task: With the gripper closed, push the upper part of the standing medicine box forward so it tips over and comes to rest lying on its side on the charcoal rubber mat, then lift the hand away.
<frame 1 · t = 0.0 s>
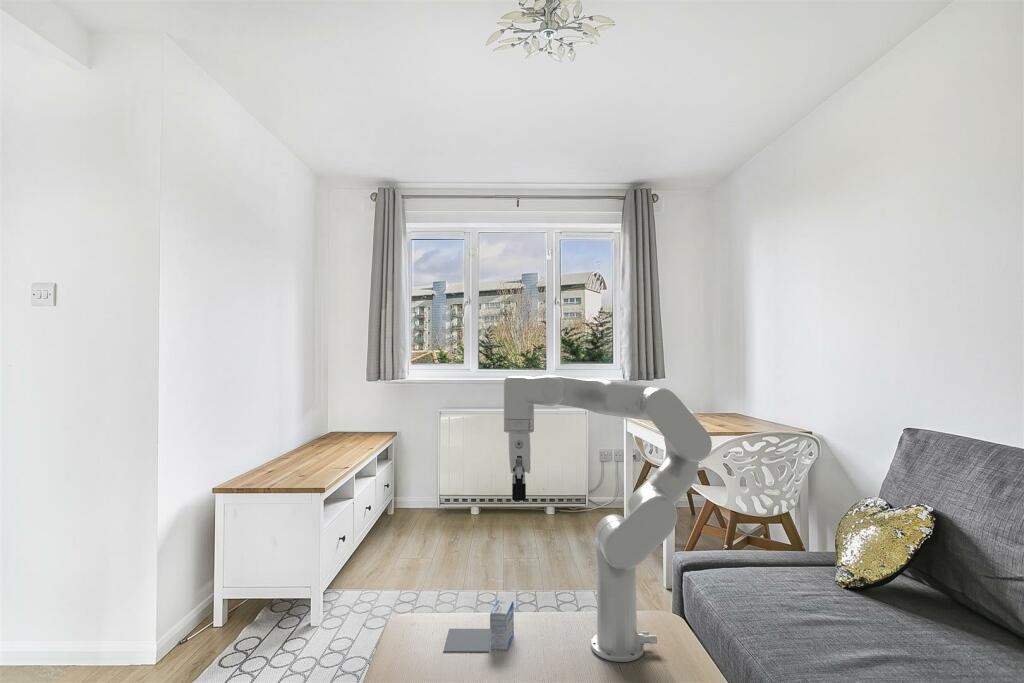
hand: (518, 495, 131), 37 cm above the table, tool pointing down, fingers open, 9 cm apart
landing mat: (468, 640, 133), on the table
medicine box: (502, 642, 132), on the table
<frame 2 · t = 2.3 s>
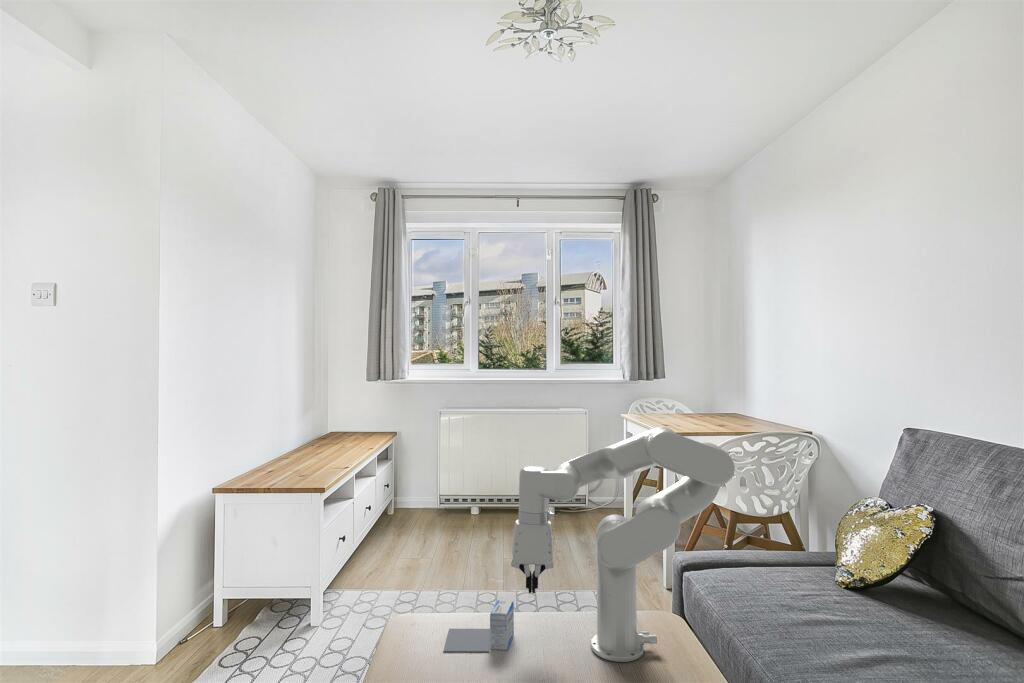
hand: (531, 591, 133), 12 cm above the table, tool pointing down, fingers closed
nothing on the table moved.
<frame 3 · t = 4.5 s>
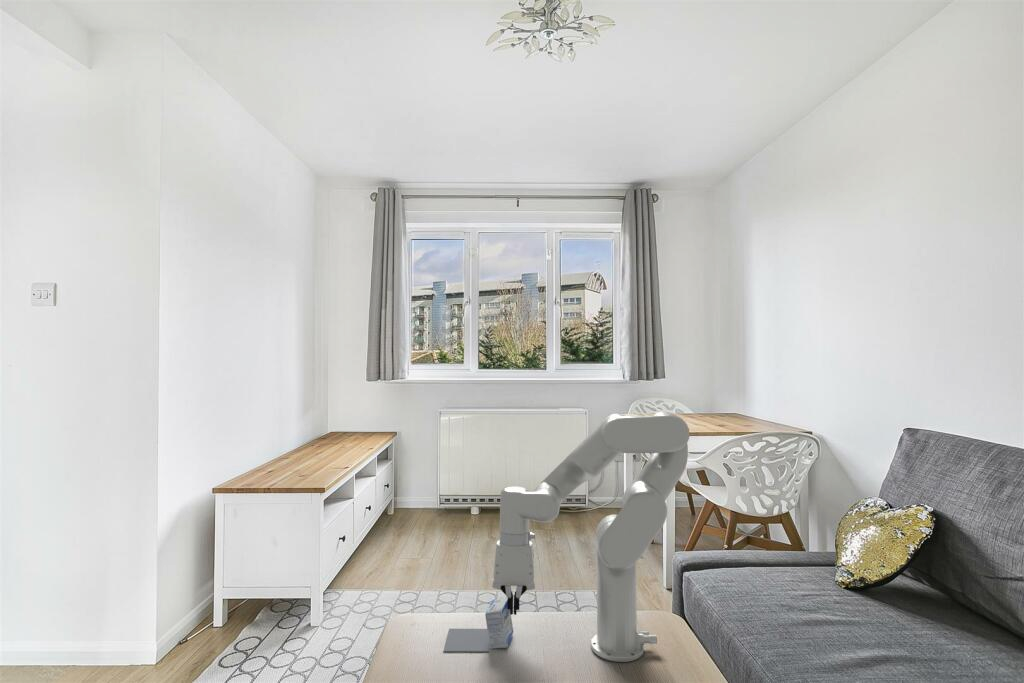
hand: (513, 612, 133), 7 cm above the table, tool pointing down, fingers closed
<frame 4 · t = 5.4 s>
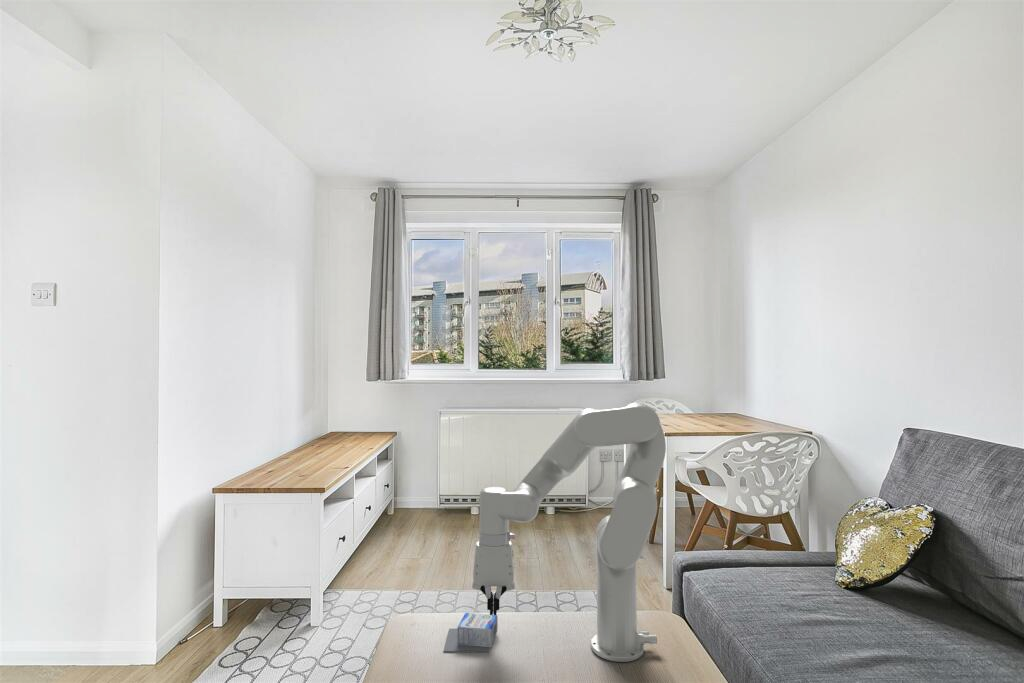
hand: (493, 612, 133), 7 cm above the table, tool pointing down, fingers closed
medicine box: (495, 631, 133), point 2 cm above the table, touching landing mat
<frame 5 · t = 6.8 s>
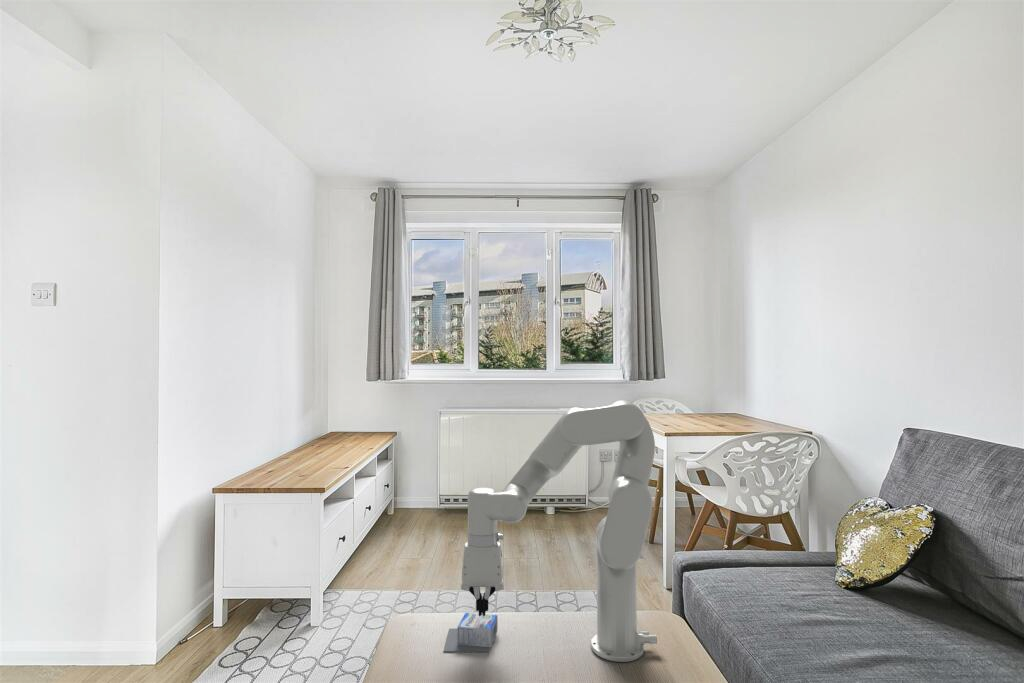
hand: (482, 613, 133), 7 cm above the table, tool pointing down, fingers closed
nothing on the table moved.
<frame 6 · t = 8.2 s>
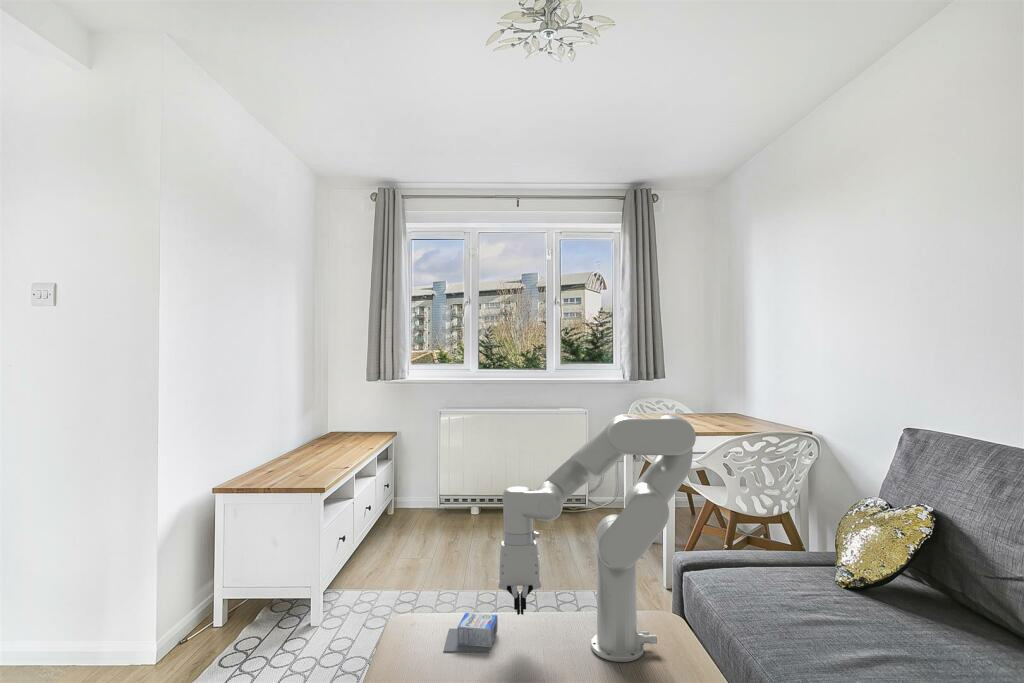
hand: (520, 612, 133), 7 cm above the table, tool pointing down, fingers closed
nothing on the table moved.
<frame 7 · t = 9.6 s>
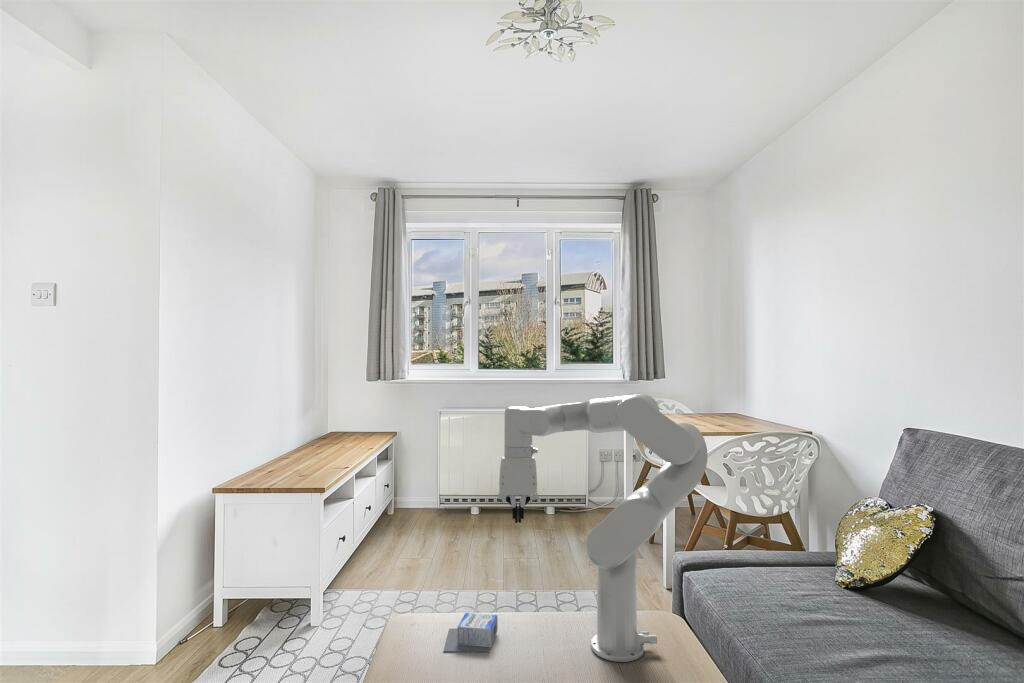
hand: (518, 521, 142), 27 cm above the table, tool pointing down, fingers closed
nothing on the table moved.
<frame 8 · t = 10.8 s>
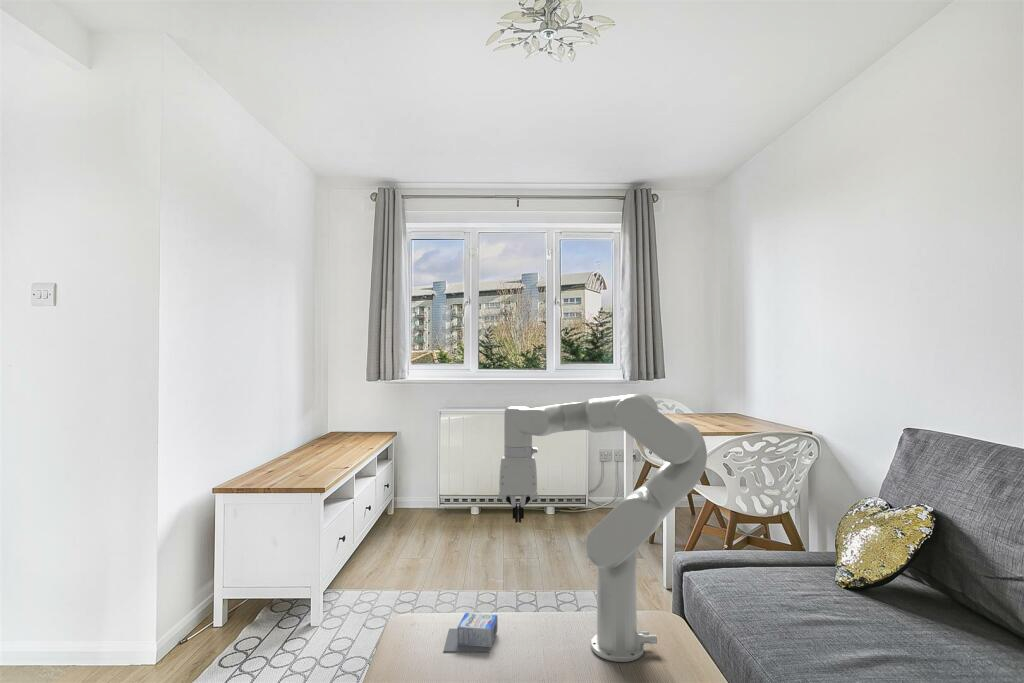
hand: (518, 521, 143), 27 cm above the table, tool pointing down, fingers closed
nothing on the table moved.
at the end: medicine box tilted 89°; medicine box touching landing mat; the gripper is holding nothing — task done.
